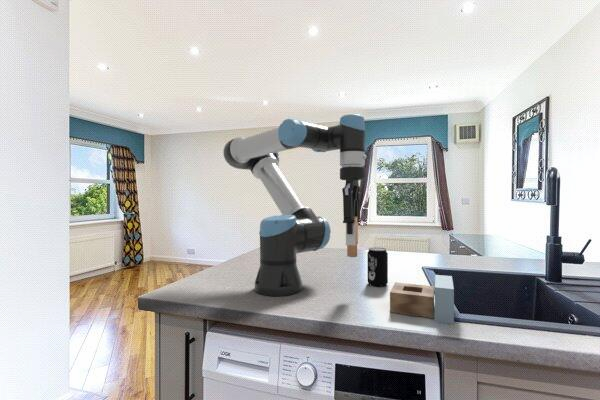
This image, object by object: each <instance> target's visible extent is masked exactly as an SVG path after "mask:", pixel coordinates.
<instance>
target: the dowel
mask: <svg viewBox="0 0 600 400" xmlns="http://www.w3.org/2000/svg"><path fill="white" fill-rule="evenodd" d="M354 221H355V222H354V223H355V245H346V247H347V250H346V253H347V254H346V257H348V258H357V257H358V244H357V217H354Z"/></svg>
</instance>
